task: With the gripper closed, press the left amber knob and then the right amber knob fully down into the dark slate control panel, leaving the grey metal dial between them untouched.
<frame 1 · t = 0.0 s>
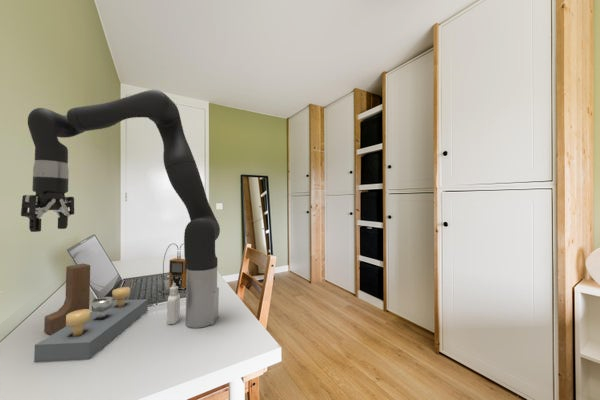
hand: (49, 230, 72), 29 cm above the table, tool pointing down, fingers open, 8 cm apart
wooden block: (67, 327, 72), on the table
panel: (101, 331, 69), on the table
knob left: (78, 325, 61), point 6 cm above the table, slide at 0.0 cm
eye dropper bottle: (173, 321, 76), on the table
knob right: (121, 298, 78), point 6 cm above the table, slide at 0.0 cm
dial middle: (102, 310, 70), point 6 cm above the table, slide at 0.0 cm
multimeter: (172, 292, 101), on the table
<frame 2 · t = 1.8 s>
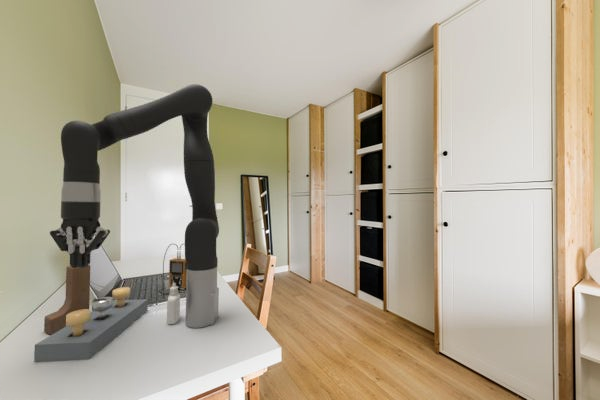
hand: (79, 267, 61), 21 cm above the table, tool pointing down, fingers closed
nothing on the table moved.
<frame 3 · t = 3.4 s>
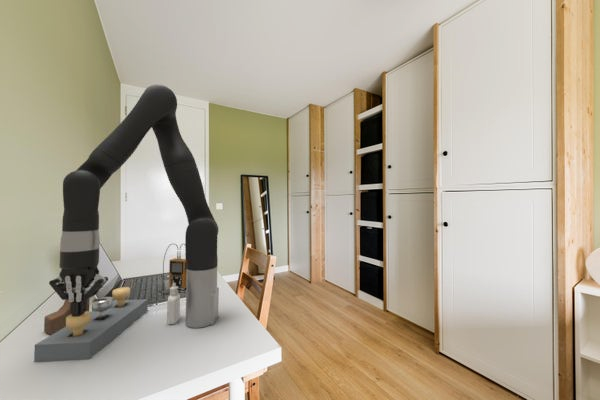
hand: (78, 314, 61), 9 cm above the table, tool pointing down, fingers closed
knob left: (78, 327, 61), point 6 cm above the table, slide at 0.6 cm, touching gripper
everything else where it was.
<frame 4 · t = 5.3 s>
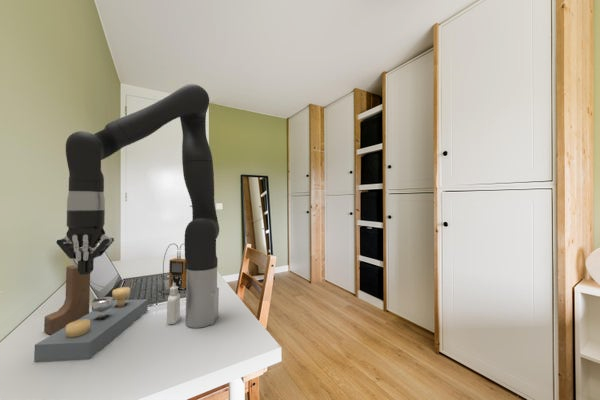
hand: (85, 273, 63), 19 cm above the table, tool pointing down, fingers closed
knob left: (78, 335, 61), point 3 cm above the table, slide at 2.6 cm
everything else where it was.
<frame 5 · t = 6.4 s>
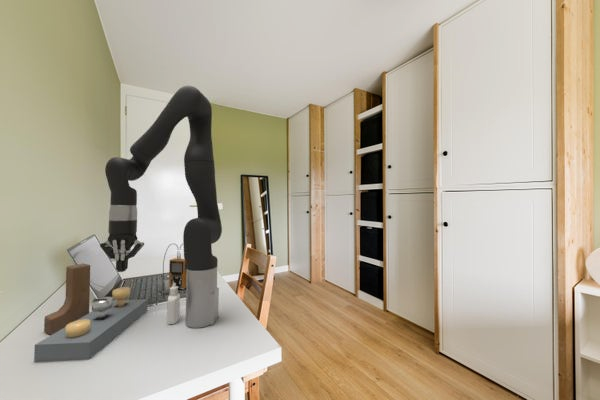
hand: (121, 271, 78), 15 cm above the table, tool pointing down, fingers closed
nothing on the table moved.
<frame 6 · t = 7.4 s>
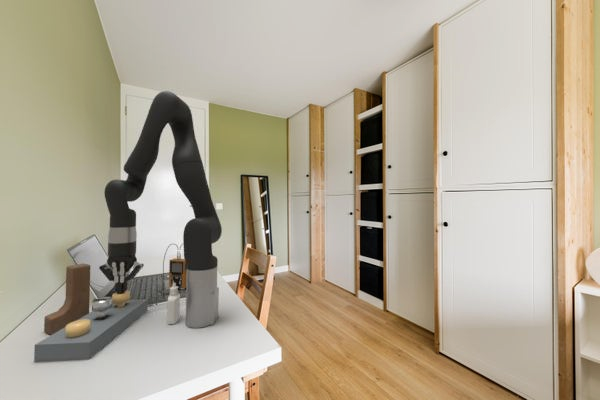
hand: (121, 293, 78), 8 cm above the table, tool pointing down, fingers closed
knob right: (121, 302, 78), point 5 cm above the table, slide at 1.2 cm, touching gripper
everything else where it was.
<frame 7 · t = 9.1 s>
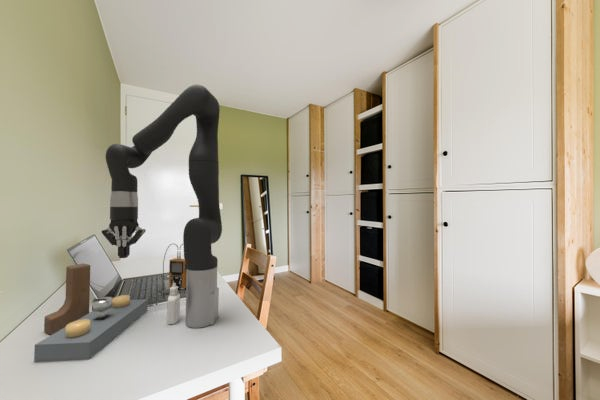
hand: (123, 257, 79), 20 cm above the table, tool pointing down, fingers closed
knob right: (121, 307, 78), point 3 cm above the table, slide at 2.7 cm
everything else where it was.
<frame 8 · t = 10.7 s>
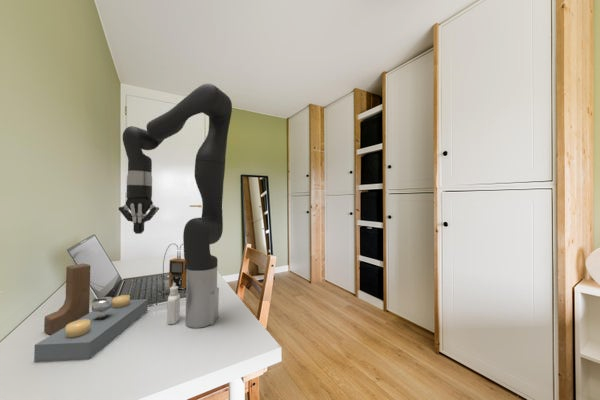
hand: (138, 233, 84), 27 cm above the table, tool pointing down, fingers closed
nothing on the table moved.
at the end: knob left slide at 2.6 cm; knob right slide at 2.7 cm; dial middle slide at 0.0 cm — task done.
